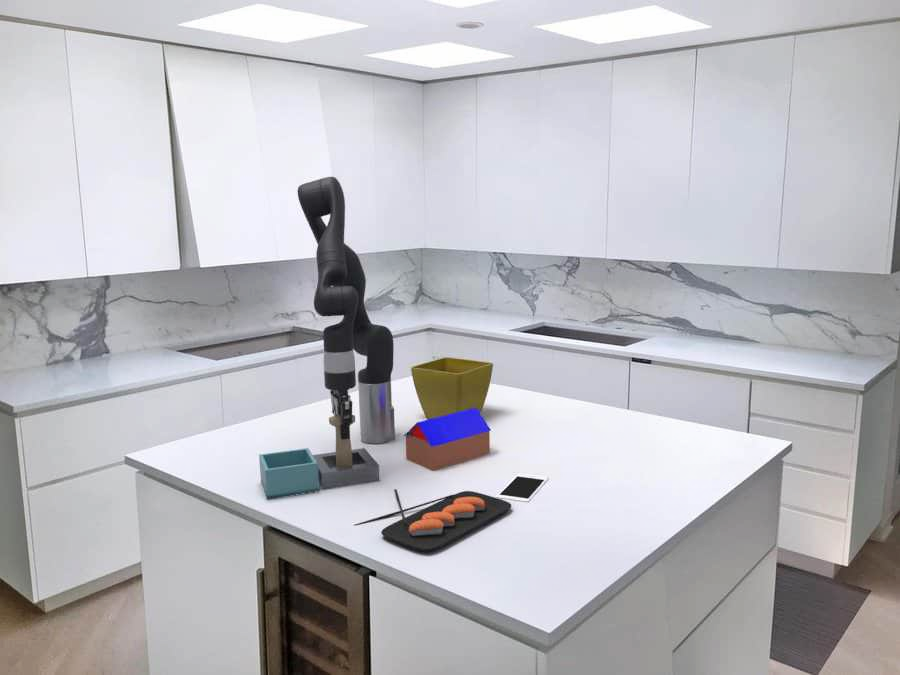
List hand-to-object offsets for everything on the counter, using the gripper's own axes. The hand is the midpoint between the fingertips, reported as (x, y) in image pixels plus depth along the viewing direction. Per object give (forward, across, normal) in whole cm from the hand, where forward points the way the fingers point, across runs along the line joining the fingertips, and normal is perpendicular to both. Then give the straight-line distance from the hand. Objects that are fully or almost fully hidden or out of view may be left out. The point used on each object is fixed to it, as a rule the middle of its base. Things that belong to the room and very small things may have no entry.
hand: (342, 435), depth 186 cm
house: (+11, +3, -29) cm, 31 cm away
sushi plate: (+11, -30, -10) cm, 34 cm away
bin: (+10, -2, +14) cm, 18 cm away
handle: (+11, 0, 0) cm, 11 cm away
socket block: (+10, 0, 0) cm, 10 cm away
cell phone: (+11, -25, -37) cm, 46 cm away
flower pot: (+11, +37, -43) cm, 58 cm away
